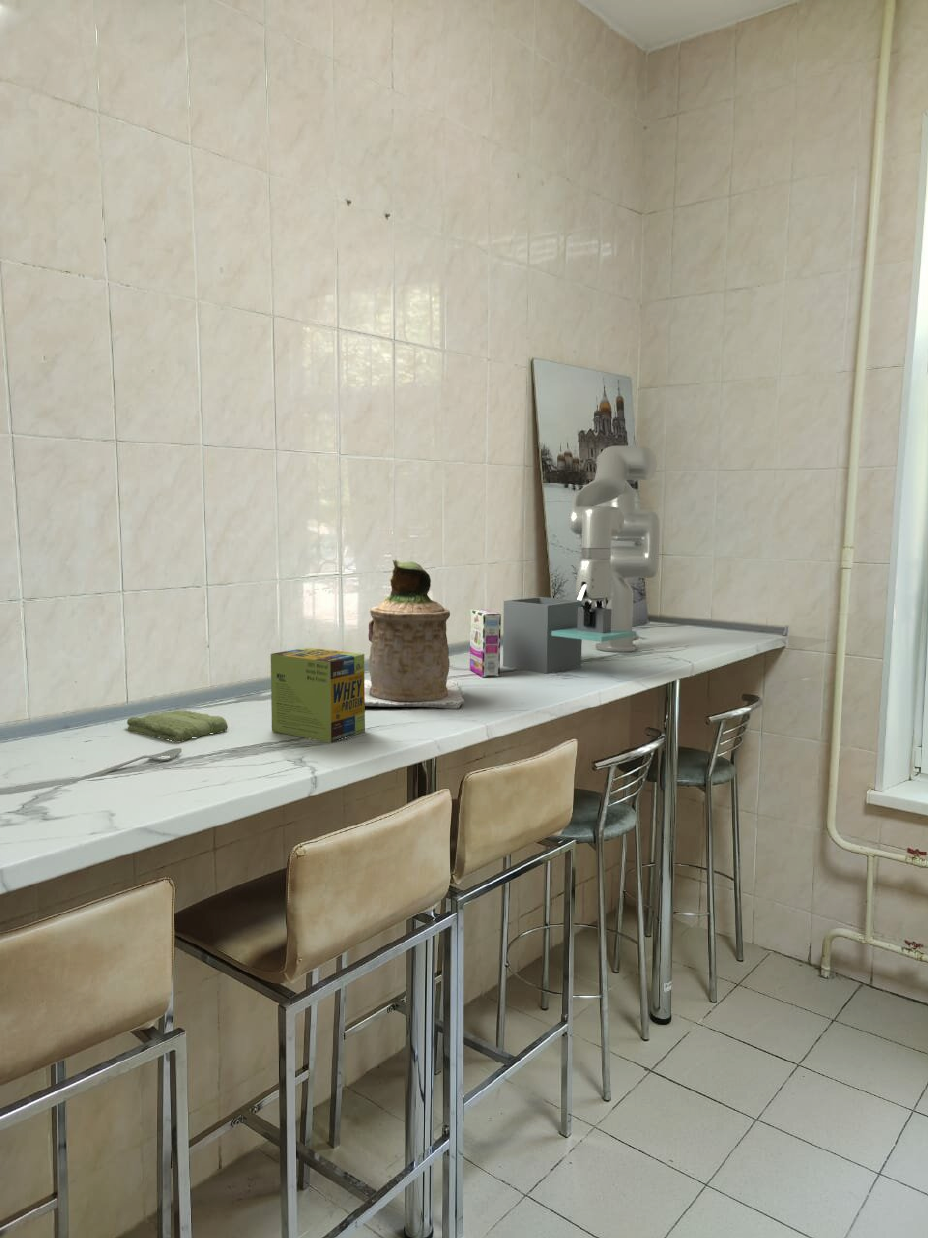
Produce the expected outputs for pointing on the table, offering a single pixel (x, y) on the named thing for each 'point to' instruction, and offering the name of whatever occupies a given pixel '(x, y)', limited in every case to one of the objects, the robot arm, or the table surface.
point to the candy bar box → (485, 643)
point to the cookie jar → (410, 646)
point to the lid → (594, 628)
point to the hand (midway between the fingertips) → (594, 625)
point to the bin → (540, 634)
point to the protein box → (318, 693)
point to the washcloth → (177, 724)
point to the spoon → (171, 753)
